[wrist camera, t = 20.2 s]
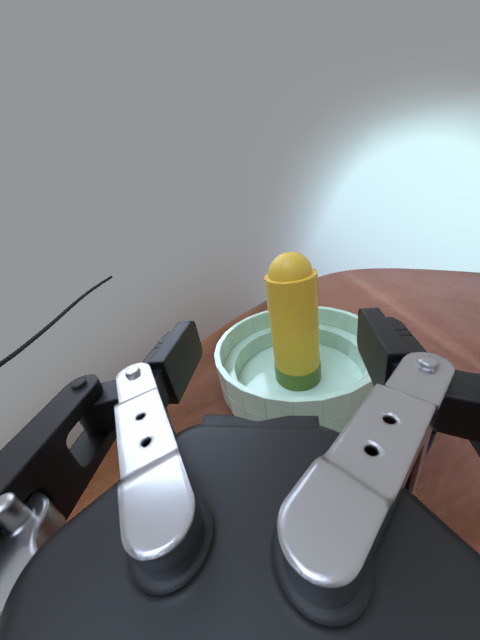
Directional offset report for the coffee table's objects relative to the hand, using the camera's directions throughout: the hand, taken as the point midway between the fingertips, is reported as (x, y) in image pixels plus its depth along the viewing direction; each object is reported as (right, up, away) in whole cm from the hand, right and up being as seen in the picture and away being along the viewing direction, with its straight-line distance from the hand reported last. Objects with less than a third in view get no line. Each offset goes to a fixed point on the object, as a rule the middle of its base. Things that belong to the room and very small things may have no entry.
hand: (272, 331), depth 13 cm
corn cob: (+5, -6, +16) cm, 18 cm away
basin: (+5, -6, +16) cm, 18 cm away
